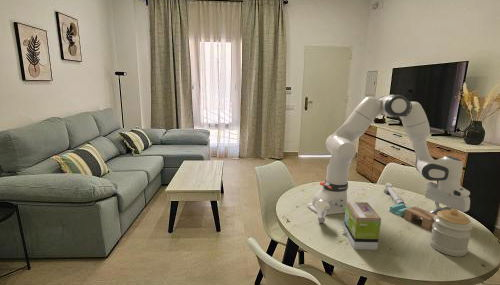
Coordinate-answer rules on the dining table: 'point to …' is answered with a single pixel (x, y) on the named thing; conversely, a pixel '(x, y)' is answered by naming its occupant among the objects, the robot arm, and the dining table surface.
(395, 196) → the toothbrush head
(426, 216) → the bearing block
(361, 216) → the tea box
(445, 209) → the axle
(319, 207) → the light bulb
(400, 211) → the u channel
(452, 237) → the jar
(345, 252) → the dining table surface
